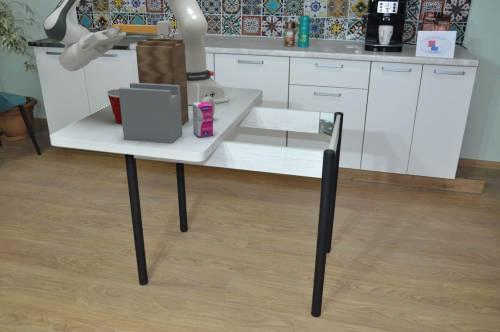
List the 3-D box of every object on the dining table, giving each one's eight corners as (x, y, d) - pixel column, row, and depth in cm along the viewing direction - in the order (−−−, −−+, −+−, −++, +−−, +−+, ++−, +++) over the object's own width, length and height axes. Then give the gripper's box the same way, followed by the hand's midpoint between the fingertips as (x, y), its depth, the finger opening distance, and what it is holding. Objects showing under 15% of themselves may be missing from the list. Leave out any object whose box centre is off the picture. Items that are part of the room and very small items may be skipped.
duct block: (123, 139, 167) (118, 88, 160) (136, 130, 176) (132, 82, 169) (172, 143, 163) (168, 91, 156) (182, 134, 172) (179, 85, 165)
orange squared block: (111, 32, 174) (110, 20, 172) (116, 31, 177) (115, 19, 176) (167, 34, 169) (167, 22, 167) (172, 32, 172) (171, 21, 171)
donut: (206, 125, 182) (205, 99, 178) (198, 124, 183) (197, 99, 179) (216, 118, 191) (215, 94, 187) (208, 117, 192) (207, 93, 188)
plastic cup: (131, 126, 181) (128, 95, 177) (105, 125, 183) (101, 94, 178) (142, 118, 191) (139, 88, 187) (116, 117, 193) (113, 87, 188)
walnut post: (142, 126, 181) (135, 41, 169) (155, 118, 191) (149, 37, 179) (177, 129, 177) (172, 43, 166) (188, 120, 188) (184, 38, 176)
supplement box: (198, 138, 168) (196, 106, 164) (193, 133, 173) (191, 102, 169) (213, 136, 170) (212, 104, 166) (208, 131, 176) (207, 100, 171)
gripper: (74, 41, 169) (102, 21, 164) (103, 34, 188) (129, 16, 182) (84, 57, 171) (112, 38, 165) (112, 48, 189) (138, 31, 184)
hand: (121, 26), depth 174 cm, fingers closed on orange squared block, 2 cm apart
